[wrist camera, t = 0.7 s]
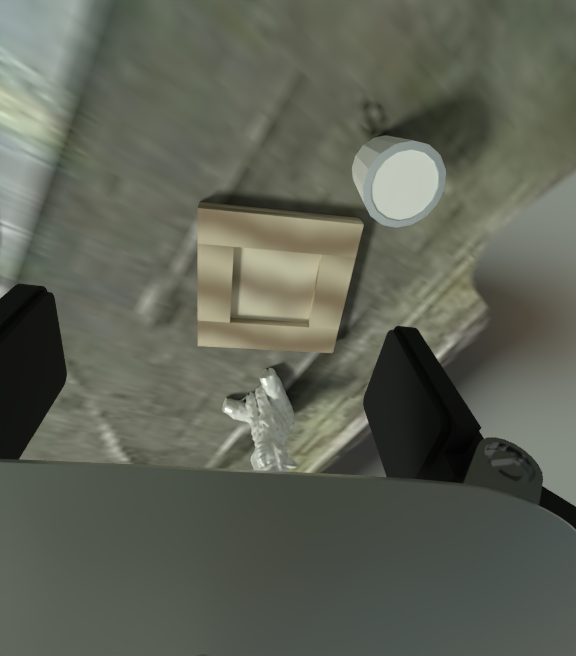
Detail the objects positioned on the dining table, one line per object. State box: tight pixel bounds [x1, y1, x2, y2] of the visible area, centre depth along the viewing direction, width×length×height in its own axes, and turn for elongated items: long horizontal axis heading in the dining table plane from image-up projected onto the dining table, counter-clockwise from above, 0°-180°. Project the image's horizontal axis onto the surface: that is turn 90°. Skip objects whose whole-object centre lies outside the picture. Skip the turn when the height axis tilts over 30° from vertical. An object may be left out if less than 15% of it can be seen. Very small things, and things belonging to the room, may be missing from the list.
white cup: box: [352, 135, 446, 228], centre depth 34 cm, size 7×7×7 cm
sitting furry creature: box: [222, 368, 298, 472], centre depth 48 cm, size 10×9×12 cm
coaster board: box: [198, 202, 364, 353], centre depth 42 cm, size 16×16×2 cm
